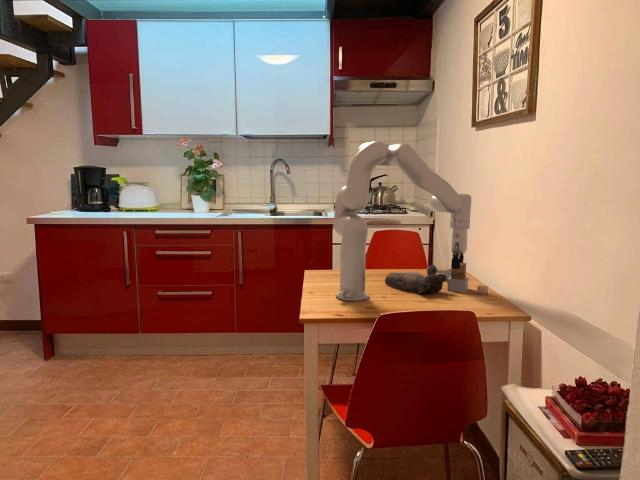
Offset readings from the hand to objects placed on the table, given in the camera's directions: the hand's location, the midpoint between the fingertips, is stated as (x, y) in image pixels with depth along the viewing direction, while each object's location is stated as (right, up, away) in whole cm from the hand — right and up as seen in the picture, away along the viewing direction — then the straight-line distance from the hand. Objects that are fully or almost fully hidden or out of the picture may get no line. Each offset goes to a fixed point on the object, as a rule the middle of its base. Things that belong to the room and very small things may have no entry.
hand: (457, 266), depth 193 cm
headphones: (0, -7, +24) cm, 25 cm away
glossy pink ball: (+8, -11, -5) cm, 14 cm away
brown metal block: (+1, -5, 0) cm, 5 cm away
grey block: (+1, -10, +2) cm, 10 cm away
